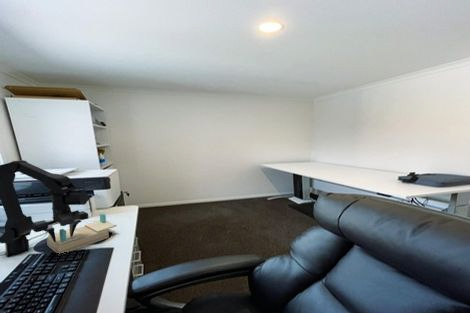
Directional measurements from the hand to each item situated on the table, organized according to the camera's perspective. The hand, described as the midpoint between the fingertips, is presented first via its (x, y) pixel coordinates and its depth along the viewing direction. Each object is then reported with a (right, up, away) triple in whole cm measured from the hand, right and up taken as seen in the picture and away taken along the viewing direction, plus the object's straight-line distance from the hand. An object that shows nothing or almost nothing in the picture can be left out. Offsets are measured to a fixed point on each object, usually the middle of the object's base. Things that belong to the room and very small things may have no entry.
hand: (63, 239), depth 94 cm
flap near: (-3, -1, +5) cm, 6 cm away
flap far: (+6, 0, +17) cm, 18 cm away
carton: (0, -5, +9) cm, 10 cm away
